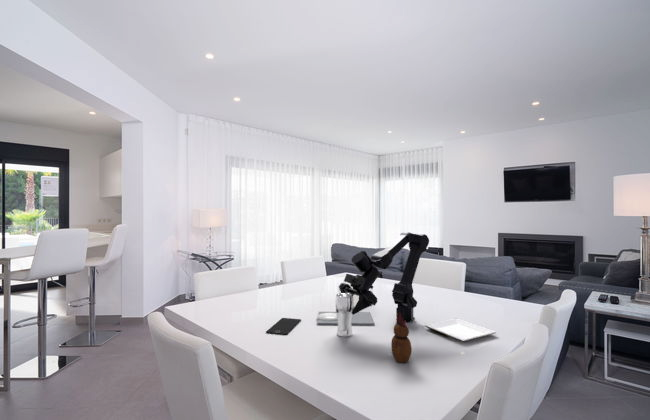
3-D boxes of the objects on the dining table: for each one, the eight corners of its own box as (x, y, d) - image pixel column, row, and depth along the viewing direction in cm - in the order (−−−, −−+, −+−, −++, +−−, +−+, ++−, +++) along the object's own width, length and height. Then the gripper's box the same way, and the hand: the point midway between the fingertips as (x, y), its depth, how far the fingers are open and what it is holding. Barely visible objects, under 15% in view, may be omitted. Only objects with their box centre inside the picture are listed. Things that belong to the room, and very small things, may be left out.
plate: (463, 346, 113) (463, 340, 113) (424, 329, 129) (424, 324, 129) (497, 337, 121) (496, 331, 122) (456, 322, 138) (456, 317, 138)
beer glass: (352, 338, 119) (352, 297, 120) (334, 336, 121) (334, 296, 121) (354, 331, 126) (354, 293, 126) (337, 330, 128) (337, 292, 128)
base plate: (370, 313, 149) (370, 311, 149) (374, 325, 133) (374, 322, 133) (318, 313, 150) (318, 311, 150) (316, 324, 134) (316, 322, 134)
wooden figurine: (389, 355, 104) (389, 309, 104) (406, 355, 105) (406, 309, 105) (395, 365, 97) (395, 316, 98) (413, 364, 98) (413, 315, 98)
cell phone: (265, 334, 124) (265, 331, 124) (282, 319, 142) (282, 317, 142) (286, 336, 122) (286, 333, 122) (301, 321, 140) (301, 319, 140)
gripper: (342, 263, 135) (320, 292, 129) (371, 269, 119) (347, 303, 113) (357, 280, 139) (336, 309, 133) (387, 288, 123) (364, 322, 117)
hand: (345, 310), depth 124 cm, fingers open, 9 cm apart
